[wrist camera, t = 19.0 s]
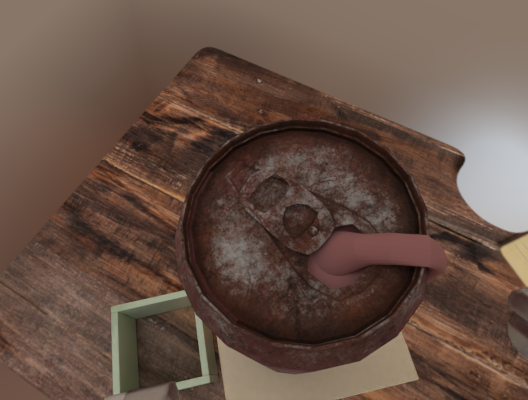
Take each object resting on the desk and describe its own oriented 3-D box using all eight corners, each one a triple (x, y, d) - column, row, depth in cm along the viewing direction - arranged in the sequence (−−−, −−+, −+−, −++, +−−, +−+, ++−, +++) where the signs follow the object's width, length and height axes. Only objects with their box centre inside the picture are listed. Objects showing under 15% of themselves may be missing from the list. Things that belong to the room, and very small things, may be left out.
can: (349, 382, 19) (482, 394, 6) (228, 365, 19) (128, 345, 7) (351, 268, 21) (449, 114, 9) (245, 256, 22) (195, 96, 9)
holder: (219, 381, 45) (210, 382, 39) (133, 402, 44) (113, 405, 39) (207, 296, 49) (197, 286, 44) (129, 314, 49) (110, 306, 43)
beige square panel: (410, 379, 20) (419, 379, 19) (233, 422, 20) (229, 425, 18) (353, 217, 24) (357, 208, 23) (207, 249, 24) (202, 241, 23)
